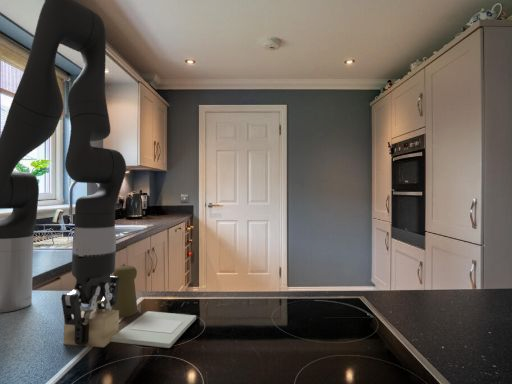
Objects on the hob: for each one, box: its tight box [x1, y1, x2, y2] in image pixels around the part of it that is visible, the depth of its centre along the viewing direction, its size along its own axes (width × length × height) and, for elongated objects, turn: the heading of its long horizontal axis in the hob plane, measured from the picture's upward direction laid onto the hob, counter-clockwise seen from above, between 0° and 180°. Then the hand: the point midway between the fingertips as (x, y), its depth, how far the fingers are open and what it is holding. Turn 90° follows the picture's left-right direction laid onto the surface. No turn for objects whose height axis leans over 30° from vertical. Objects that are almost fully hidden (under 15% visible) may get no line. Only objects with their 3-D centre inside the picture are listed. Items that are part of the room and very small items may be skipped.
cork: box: [111, 265, 139, 318], centre depth 75 cm, size 6×6×11 cm
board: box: [110, 310, 197, 349], centre depth 66 cm, size 12×14×1 cm
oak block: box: [63, 308, 120, 348], centre depth 61 cm, size 8×5×5 cm, turn 84°
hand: (92, 336), depth 61 cm, fingers closed on oak block, 5 cm apart
